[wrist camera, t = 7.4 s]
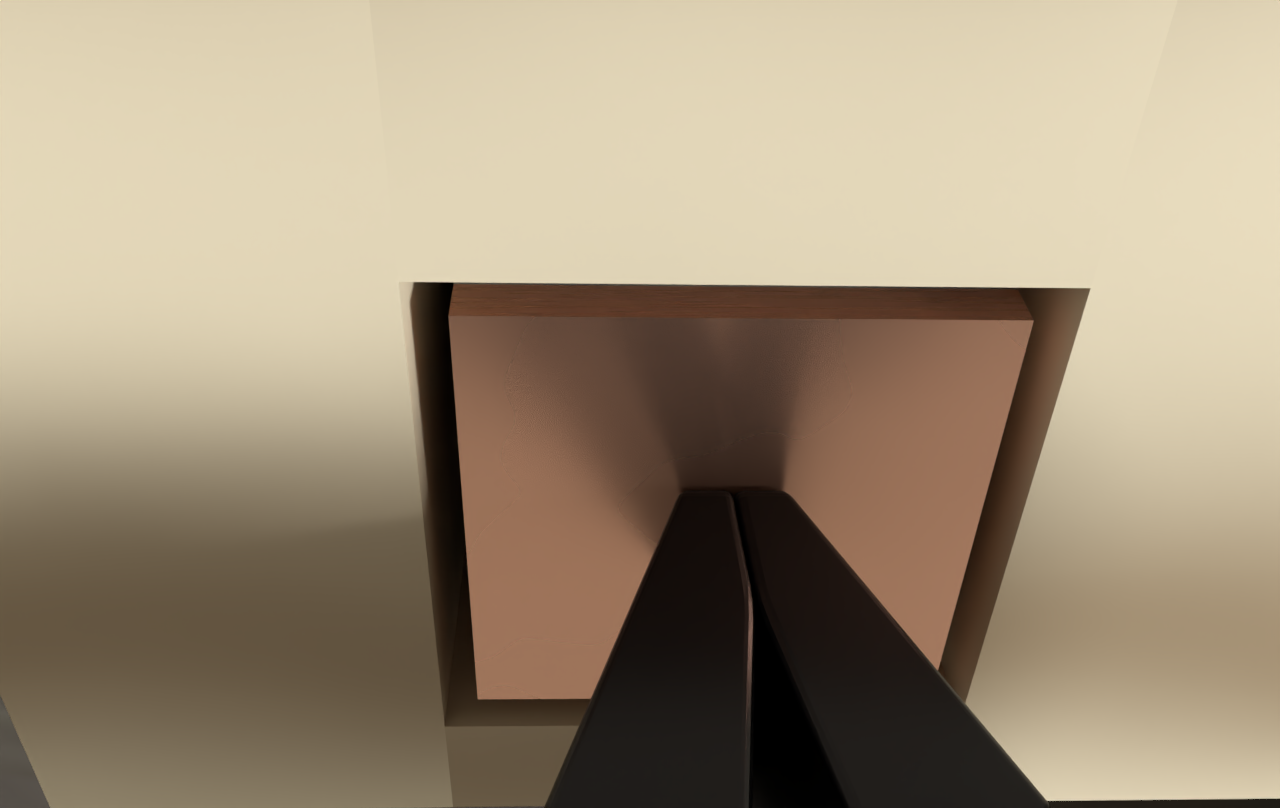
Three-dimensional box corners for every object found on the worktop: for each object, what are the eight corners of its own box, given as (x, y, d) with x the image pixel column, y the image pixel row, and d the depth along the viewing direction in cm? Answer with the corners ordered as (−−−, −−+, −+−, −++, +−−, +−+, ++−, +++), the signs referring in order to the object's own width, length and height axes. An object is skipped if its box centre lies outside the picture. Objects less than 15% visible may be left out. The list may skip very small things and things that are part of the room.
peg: (829, 329, 15) (930, 695, 11) (511, 327, 15) (477, 700, 11) (875, 17, 13) (1034, 321, 8) (498, 10, 13) (448, 316, 8)
